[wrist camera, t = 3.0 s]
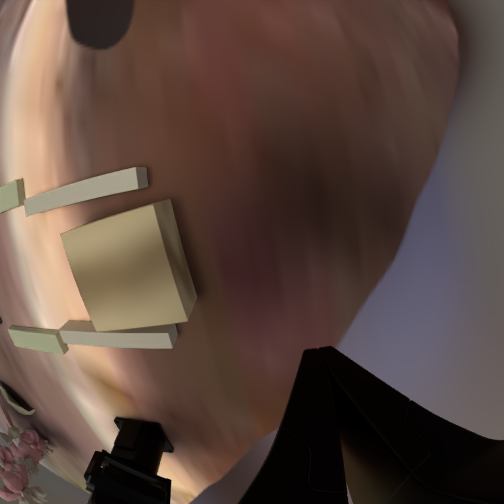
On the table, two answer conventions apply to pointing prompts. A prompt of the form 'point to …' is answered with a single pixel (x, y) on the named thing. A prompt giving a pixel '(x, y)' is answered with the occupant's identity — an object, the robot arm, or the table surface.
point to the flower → (21, 459)
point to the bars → (25, 336)
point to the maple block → (132, 268)
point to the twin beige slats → (85, 329)
